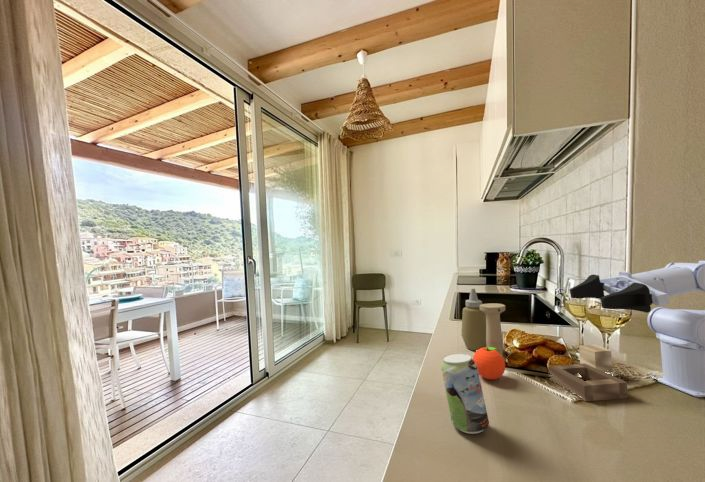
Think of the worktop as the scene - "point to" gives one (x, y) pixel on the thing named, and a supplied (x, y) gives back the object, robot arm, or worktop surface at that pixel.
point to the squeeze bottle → (473, 323)
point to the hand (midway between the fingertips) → (585, 298)
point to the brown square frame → (589, 382)
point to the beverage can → (464, 393)
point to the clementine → (489, 362)
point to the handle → (493, 325)
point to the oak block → (596, 357)
